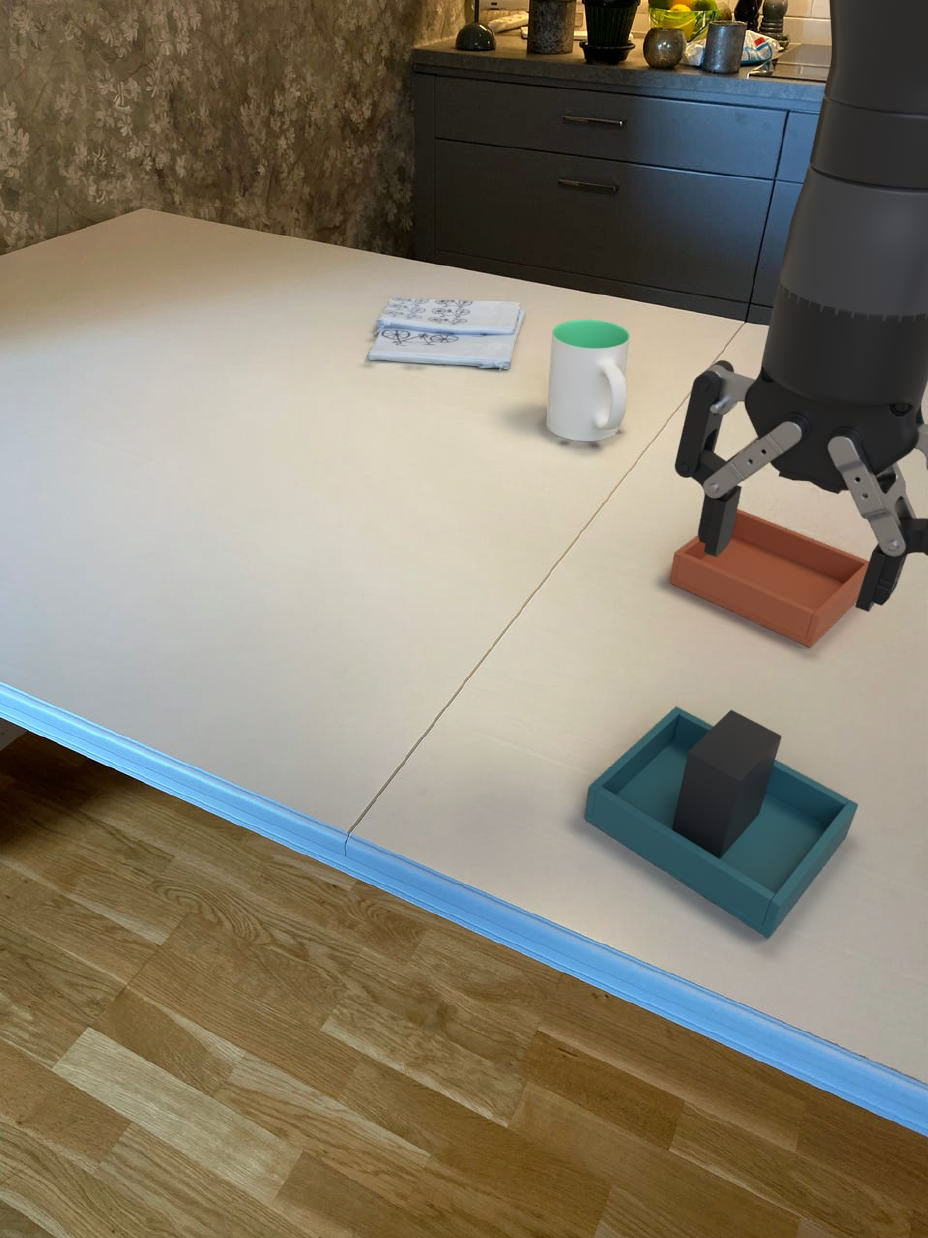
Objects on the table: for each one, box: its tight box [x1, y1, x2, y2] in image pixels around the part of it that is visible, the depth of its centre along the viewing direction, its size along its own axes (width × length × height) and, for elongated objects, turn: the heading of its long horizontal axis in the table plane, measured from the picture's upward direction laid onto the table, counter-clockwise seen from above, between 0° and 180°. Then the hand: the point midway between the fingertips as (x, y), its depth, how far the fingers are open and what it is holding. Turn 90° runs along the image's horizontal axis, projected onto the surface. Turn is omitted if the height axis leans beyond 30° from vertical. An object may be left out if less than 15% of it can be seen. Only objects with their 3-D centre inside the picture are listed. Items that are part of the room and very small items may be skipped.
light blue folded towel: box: [367, 297, 526, 372], centre depth 128 cm, size 19×20×2 cm
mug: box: [545, 319, 631, 442], centre depth 104 cm, size 12×8×10 cm, turn 22°
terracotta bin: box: [668, 508, 870, 648], centre depth 83 cm, size 13×10×3 cm
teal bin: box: [583, 706, 859, 939], centre depth 62 cm, size 13×10×3 cm
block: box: [672, 709, 782, 859], centre depth 60 cm, size 4×5×7 cm
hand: (789, 575), depth 54 cm, fingers open, 8 cm apart
